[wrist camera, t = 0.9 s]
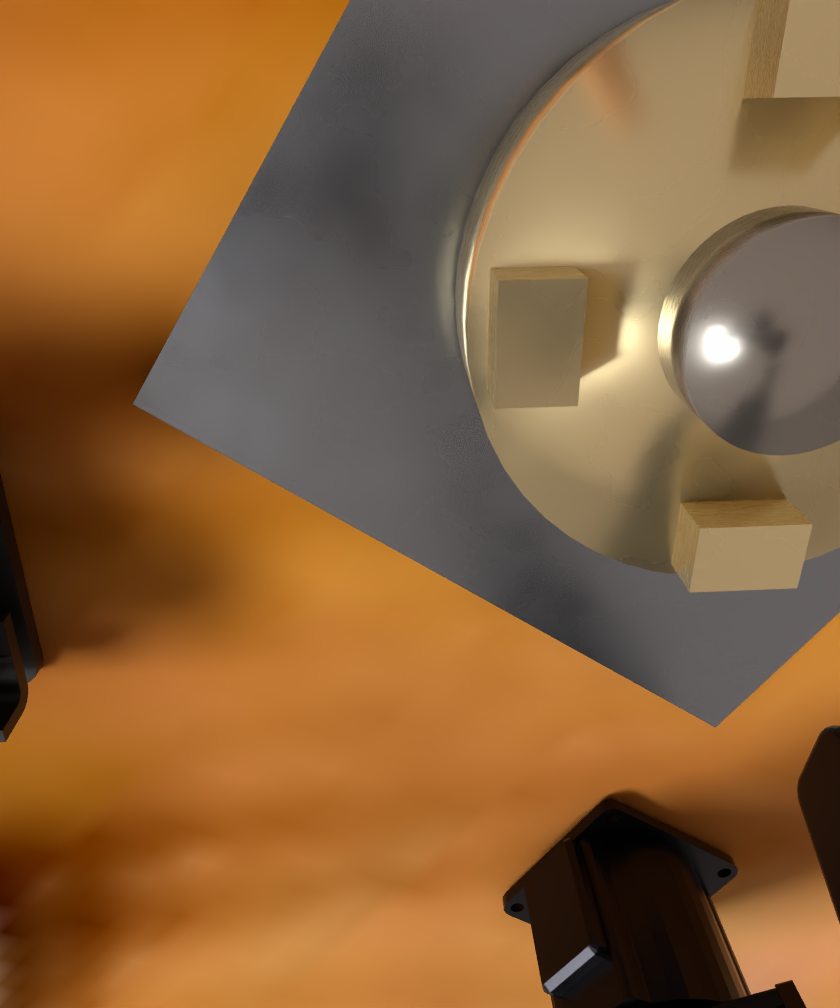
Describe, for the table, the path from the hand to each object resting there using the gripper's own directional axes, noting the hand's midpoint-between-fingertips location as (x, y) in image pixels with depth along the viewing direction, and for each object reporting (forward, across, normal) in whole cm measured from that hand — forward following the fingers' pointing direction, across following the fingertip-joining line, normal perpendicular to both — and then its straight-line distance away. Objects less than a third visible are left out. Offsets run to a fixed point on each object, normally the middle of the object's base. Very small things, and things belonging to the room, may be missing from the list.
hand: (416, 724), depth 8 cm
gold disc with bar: (+12, -9, -6) cm, 16 cm away
